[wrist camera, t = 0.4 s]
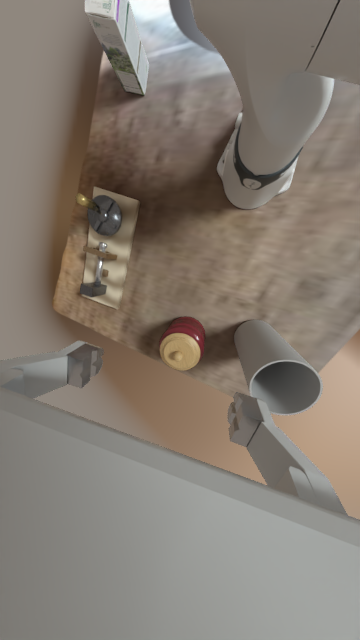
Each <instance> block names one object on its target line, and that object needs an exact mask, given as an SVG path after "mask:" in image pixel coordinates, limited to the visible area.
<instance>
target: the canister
mask: <svg viewBox="0 0 360 640" xmlns="http://www.w3.org/2000/svg"><path fill="white" fill-rule="evenodd" d="M204 341H205V330H204V328H203V326H202V324H201V323H200V322H199V321H198V320H196V319H194V318H192V317H180V318H178V319H176V320H174V321H173V322H172V323H171V324H170V326H169V328H168V329H167V330H166V332H165V333H164V334H163V336H162V337H161V339H160V344H159V348H160V355H161V358H162V360H163V361H164V362H165V363H166V364H167V365H168V366H169V367H171V368H173V369H176V370H188V369H191V368H193V367H194V366H195V365H196V364H197V363H198V362H199V361H200V360H201V359H202V357H203V354H204Z"/></svg>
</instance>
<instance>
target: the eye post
mask: <svg viewBox="0 0 360 640" xmlns="http://www.w3.org/2000/svg"><path fill="white" fill-rule="evenodd" d="M83 251H86V252H88V253H91V254H94V255H97V256H100V257H103V258H105V259H116V260H117V256H118V255H116V254H113V253H110V252H107V251H105V252H102V251H99V248H95V247H89V246H84V248H83Z"/></svg>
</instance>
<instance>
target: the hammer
mask: <svg viewBox="0 0 360 640" xmlns="http://www.w3.org/2000/svg"><path fill="white" fill-rule="evenodd" d="M98 244H99V246H100V247H99V251H102V252H105V251H106V248H107V247H108V245H107V244H106V243H103V242H99V243H98ZM103 265H104V258H103V257H100V256H98V262H97V269H96V276H95V282H91V283H83V284H81V288H80V293H81V294H84V295H86V296H89V297H96V296H100V295H104V294H106V289H107V285H104V284H101V279H102V272H103Z"/></svg>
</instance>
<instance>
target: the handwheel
mask: <svg viewBox="0 0 360 640" xmlns="http://www.w3.org/2000/svg"><path fill="white" fill-rule="evenodd" d="M76 201H77V203H79V204H81V205H83V206H85V207H87V208H88V220H89V223H90V225H91V227H92V228H93V229H94V231H95V232H97V233H98V234H100V235H103V236H112V235H114V234H116V233H117V232H118V231H119V229H120V227H121V224H122V212H121V209H120V207H119V205H118V204H117V202H116V201H115V200H113V199H112V198H110V197H109V196H106V195H99V196H96V197H95V198H93V199H92V200H91V199H89V198H87V197H85V196H83V195H82V194H77V195H76Z"/></svg>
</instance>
